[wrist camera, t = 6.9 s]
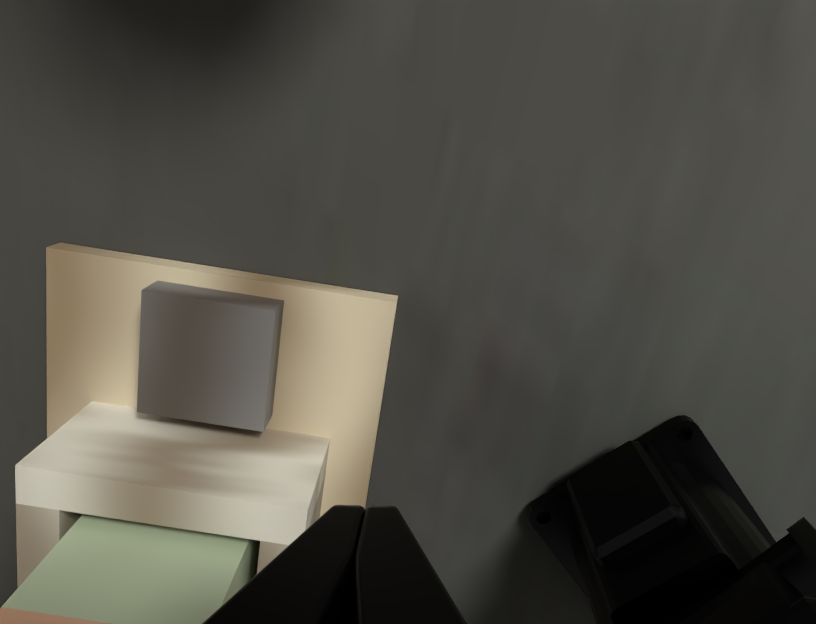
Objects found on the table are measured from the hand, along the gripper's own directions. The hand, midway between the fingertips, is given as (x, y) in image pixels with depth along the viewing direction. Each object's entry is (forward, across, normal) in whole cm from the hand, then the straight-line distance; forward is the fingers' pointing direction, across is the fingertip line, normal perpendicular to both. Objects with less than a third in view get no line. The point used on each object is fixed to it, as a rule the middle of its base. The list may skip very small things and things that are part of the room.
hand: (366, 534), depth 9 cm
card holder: (+13, +7, +8) cm, 17 cm away
